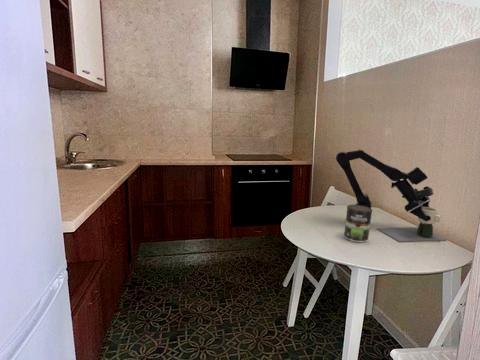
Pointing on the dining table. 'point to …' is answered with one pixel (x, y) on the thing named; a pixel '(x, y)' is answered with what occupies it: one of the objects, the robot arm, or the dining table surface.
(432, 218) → the character mug
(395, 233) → the placemat
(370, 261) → the dining table surface
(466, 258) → the dining table surface
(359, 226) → the coffee can
